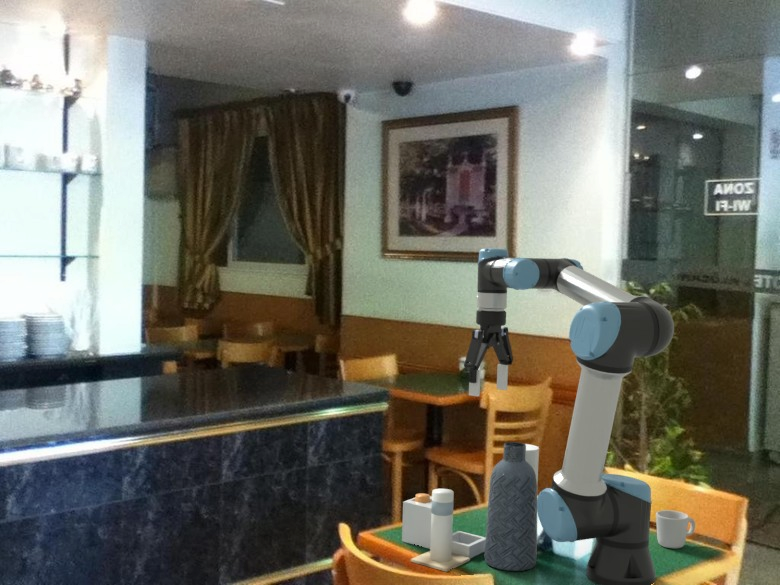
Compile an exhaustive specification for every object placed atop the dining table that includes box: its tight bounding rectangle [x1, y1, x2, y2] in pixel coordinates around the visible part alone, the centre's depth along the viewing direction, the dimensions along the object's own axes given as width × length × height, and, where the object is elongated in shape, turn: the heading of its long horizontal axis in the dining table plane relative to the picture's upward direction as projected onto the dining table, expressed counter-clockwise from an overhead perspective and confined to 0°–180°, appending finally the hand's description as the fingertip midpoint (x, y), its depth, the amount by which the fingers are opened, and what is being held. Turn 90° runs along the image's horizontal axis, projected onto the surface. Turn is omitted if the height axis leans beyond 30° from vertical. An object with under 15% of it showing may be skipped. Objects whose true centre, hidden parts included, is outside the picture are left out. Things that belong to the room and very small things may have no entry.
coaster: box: [410, 550, 471, 573], centre depth 223 cm, size 10×10×1 cm
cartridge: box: [429, 488, 455, 562], centre depth 223 cm, size 5×5×16 cm
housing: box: [401, 495, 486, 559], centre depth 234 cm, size 20×9×10 cm, turn 53°
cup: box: [655, 509, 696, 549], centre depth 240 cm, size 11×8×8 cm
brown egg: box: [414, 492, 431, 504], centre depth 238 cm, size 4×4×6 cm
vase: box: [484, 441, 538, 572], centre depth 222 cm, size 12×12×28 cm
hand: (488, 392), depth 242 cm, fingers open, 13 cm apart
